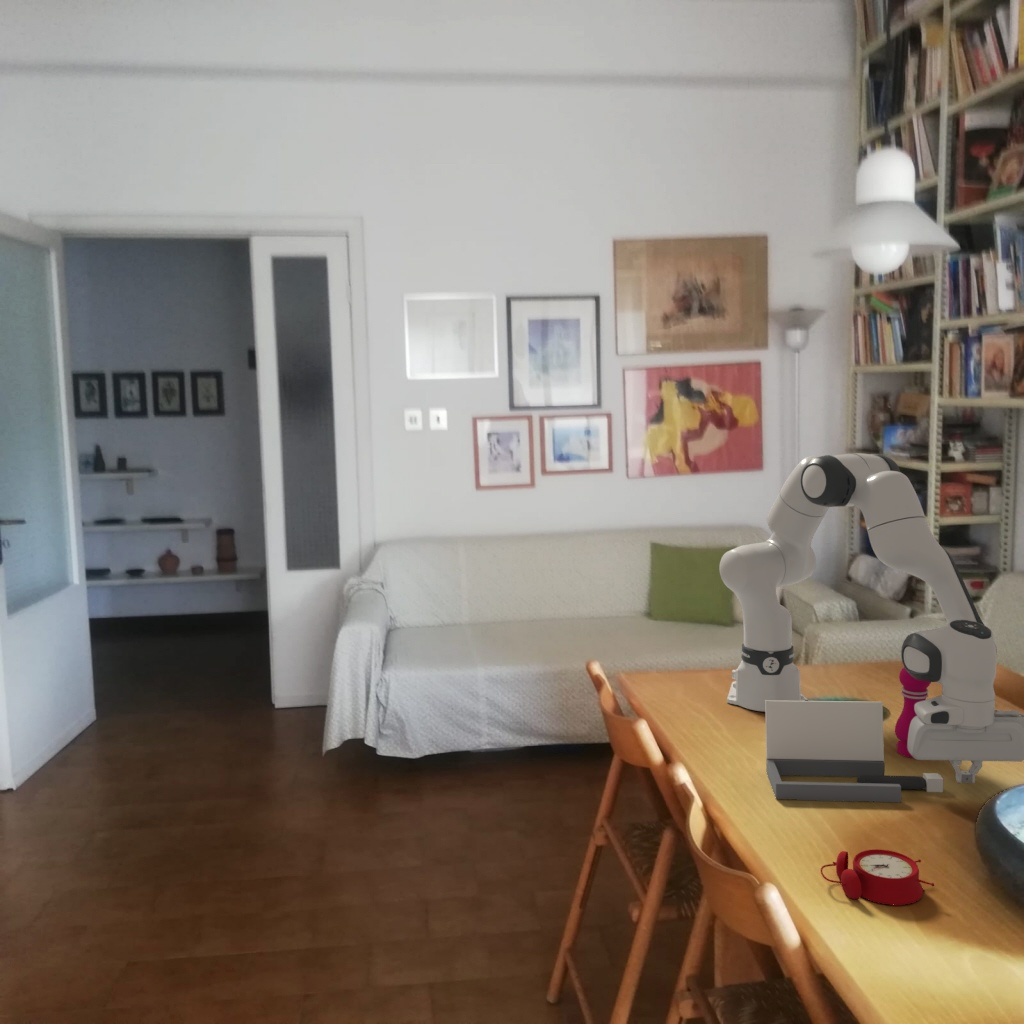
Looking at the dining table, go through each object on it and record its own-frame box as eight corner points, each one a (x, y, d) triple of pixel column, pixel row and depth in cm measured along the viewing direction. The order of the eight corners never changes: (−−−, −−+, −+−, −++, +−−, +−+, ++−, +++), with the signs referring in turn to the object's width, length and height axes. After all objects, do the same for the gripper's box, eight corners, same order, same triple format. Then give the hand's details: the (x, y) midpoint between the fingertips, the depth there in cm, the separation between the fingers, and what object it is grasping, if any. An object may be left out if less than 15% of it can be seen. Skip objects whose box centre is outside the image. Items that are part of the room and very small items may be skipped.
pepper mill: (936, 760, 191) (939, 663, 188) (898, 758, 192) (900, 662, 189) (928, 747, 198) (930, 653, 195) (891, 745, 199) (893, 652, 196)
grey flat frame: (766, 772, 187) (766, 757, 187) (882, 774, 184) (883, 760, 184) (775, 799, 175) (776, 784, 174) (900, 802, 172) (901, 786, 172)
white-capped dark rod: (858, 790, 178) (859, 777, 177) (855, 784, 180) (855, 771, 180) (942, 792, 176) (943, 778, 175) (938, 786, 178) (938, 773, 178)
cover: (766, 758, 186) (766, 757, 187) (883, 760, 183) (882, 759, 184) (765, 701, 186) (765, 700, 187) (882, 702, 184) (881, 701, 185)
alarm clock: (940, 885, 137) (835, 859, 139) (929, 925, 138) (825, 898, 140) (920, 851, 147) (822, 827, 149) (910, 887, 148) (813, 863, 150)
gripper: (1020, 704, 176) (1017, 776, 178) (905, 703, 179) (903, 773, 181) (1034, 716, 170) (1031, 790, 172) (915, 715, 173) (913, 787, 175)
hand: (965, 781), depth 176 cm, fingers closed
